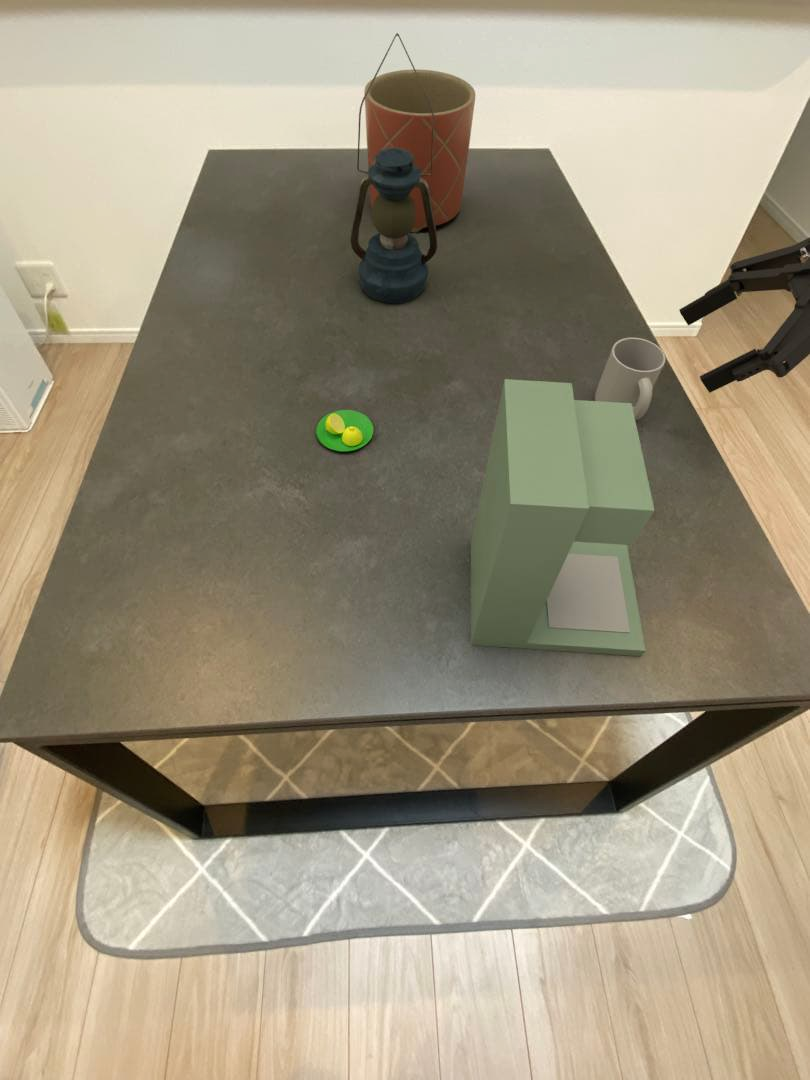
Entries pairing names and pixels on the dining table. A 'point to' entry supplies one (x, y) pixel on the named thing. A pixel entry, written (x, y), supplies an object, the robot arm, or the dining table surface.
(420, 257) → the lantern
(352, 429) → the plate with lemons
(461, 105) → the planter
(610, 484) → the coffee maker
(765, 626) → the dining table surface
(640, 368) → the cup
